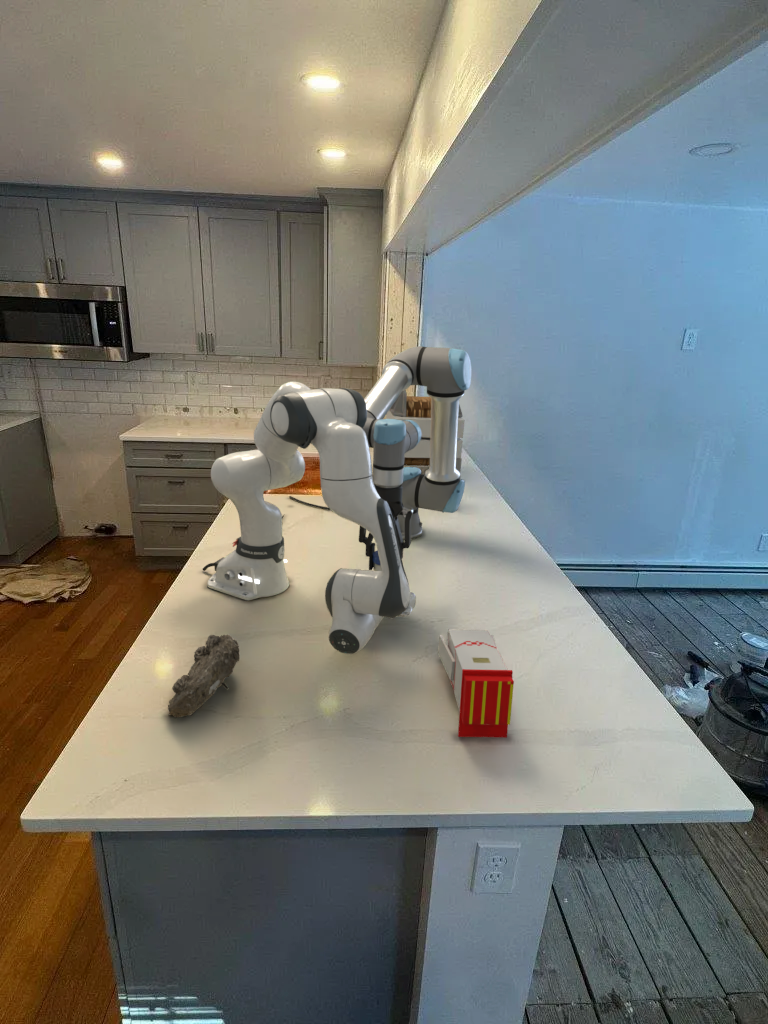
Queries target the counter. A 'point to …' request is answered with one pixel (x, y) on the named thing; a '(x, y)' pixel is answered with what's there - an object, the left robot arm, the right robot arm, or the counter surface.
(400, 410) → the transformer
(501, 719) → the toy
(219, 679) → the fossil
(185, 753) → the counter surface
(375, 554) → the lid
